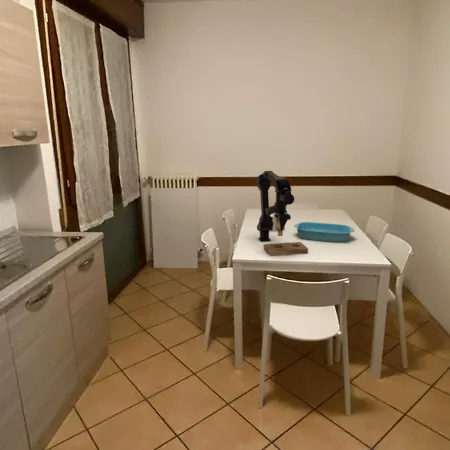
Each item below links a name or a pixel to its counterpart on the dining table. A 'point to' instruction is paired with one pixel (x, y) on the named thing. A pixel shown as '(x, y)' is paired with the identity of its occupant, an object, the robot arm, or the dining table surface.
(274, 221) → the light bulb box
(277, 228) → the oak peg
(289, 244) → the walnut board
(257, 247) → the dining table surface
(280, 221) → the robot arm
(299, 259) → the dining table surface
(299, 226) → the casserole dish
